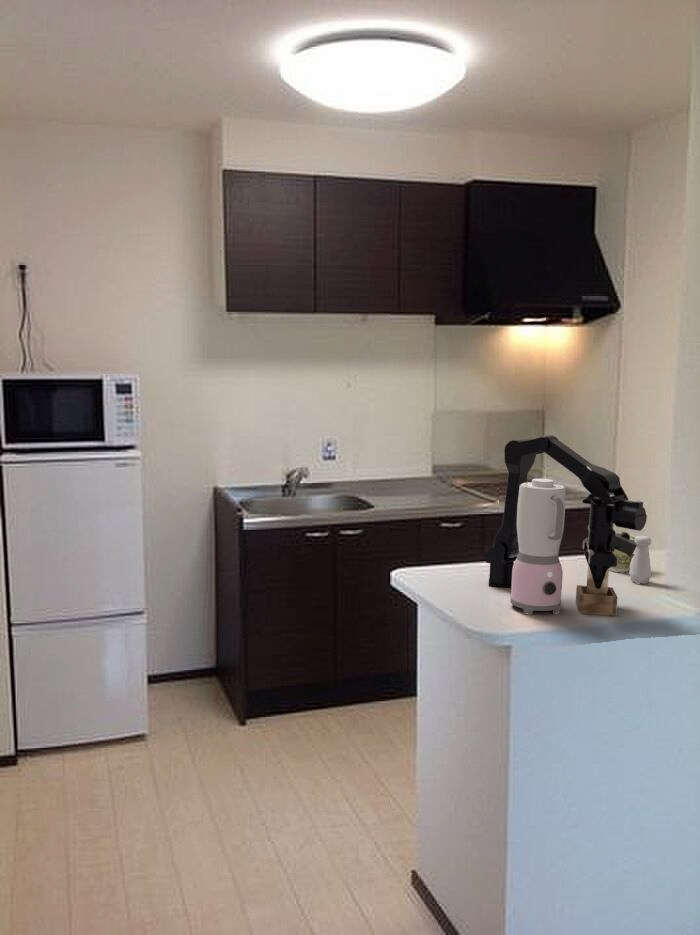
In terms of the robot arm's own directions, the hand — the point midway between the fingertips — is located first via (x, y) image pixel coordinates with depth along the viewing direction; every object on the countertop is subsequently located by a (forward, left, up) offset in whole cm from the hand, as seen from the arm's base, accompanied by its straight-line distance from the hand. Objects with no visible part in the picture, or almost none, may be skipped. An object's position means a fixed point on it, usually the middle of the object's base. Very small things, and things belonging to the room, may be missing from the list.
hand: (596, 585), depth 218 cm
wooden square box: (0, 0, -6) cm, 6 cm away
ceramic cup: (+12, +42, -6) cm, 44 cm away
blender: (-14, -4, -6) cm, 16 cm away
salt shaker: (+15, +29, -6) cm, 33 cm away
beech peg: (0, 0, -3) cm, 3 cm away
